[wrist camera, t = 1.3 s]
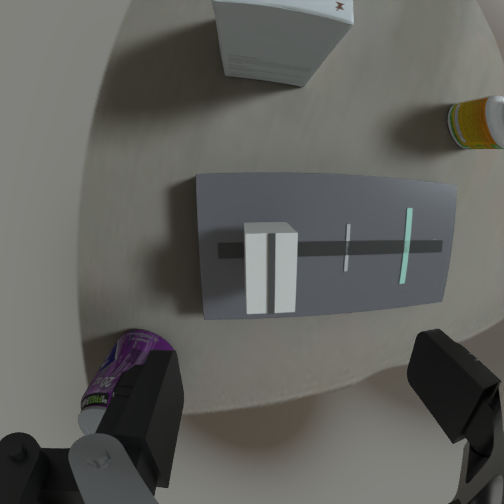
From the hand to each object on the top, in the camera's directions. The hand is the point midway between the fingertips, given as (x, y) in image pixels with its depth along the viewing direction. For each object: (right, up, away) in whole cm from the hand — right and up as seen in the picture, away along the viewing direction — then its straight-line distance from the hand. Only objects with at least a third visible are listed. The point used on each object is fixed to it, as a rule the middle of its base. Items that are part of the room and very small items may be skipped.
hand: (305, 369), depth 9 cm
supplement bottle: (+22, +18, +15) cm, 32 cm away
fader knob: (-1, +4, +14) cm, 15 cm away
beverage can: (-13, -7, +20) cm, 25 cm away
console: (+6, +5, +18) cm, 19 cm away
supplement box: (0, +22, +13) cm, 26 cm away
